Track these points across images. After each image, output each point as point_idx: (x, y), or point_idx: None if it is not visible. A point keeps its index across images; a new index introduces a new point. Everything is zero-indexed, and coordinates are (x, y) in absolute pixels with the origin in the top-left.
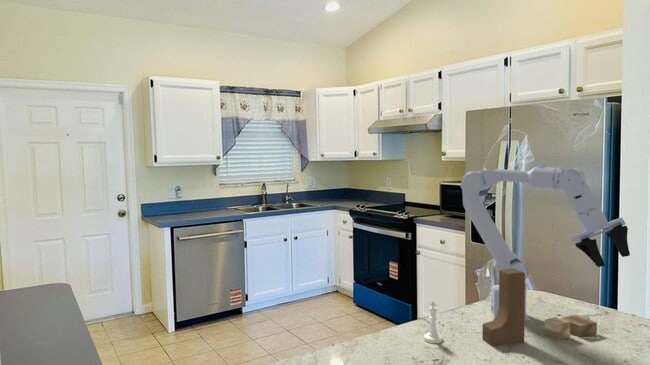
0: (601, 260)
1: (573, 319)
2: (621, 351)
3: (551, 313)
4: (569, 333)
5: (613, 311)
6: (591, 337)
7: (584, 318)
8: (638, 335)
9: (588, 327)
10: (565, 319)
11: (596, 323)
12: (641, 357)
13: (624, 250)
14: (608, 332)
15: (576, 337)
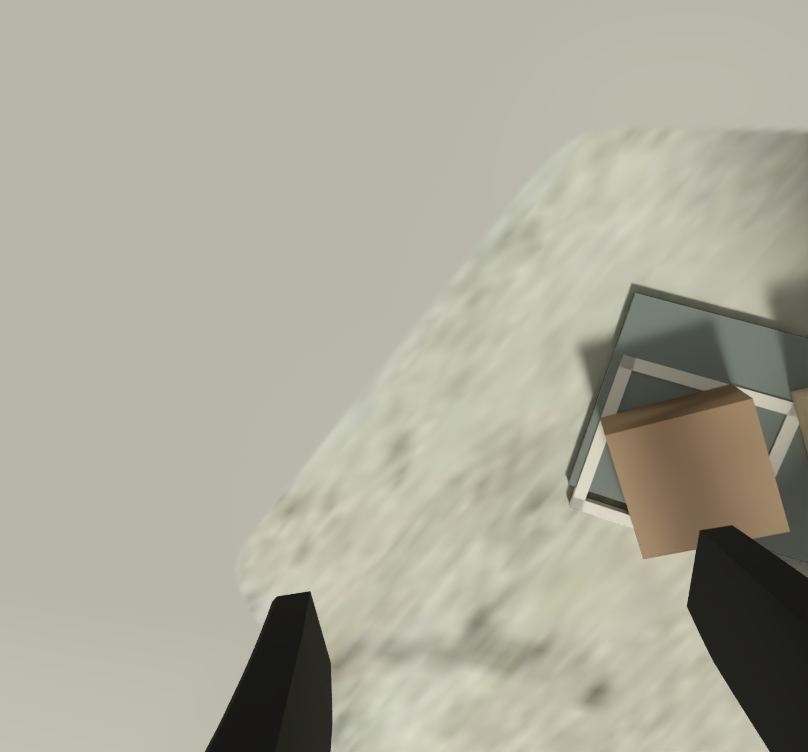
0: (785, 571)
1: (713, 499)
2: (614, 223)
3: (623, 719)
4: (805, 395)
5: None
6: (664, 377)
7: (632, 501)
8: (390, 393)
9: (673, 412)
10: (768, 506)
11: (606, 433)
12: (568, 149)
13: (308, 680)
14: (505, 446)
15: (749, 389)
